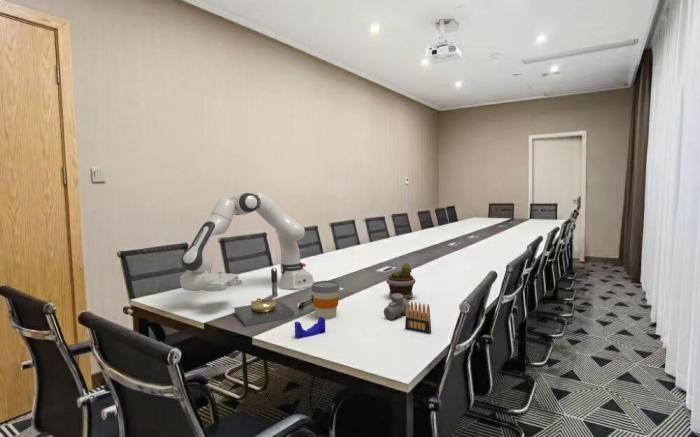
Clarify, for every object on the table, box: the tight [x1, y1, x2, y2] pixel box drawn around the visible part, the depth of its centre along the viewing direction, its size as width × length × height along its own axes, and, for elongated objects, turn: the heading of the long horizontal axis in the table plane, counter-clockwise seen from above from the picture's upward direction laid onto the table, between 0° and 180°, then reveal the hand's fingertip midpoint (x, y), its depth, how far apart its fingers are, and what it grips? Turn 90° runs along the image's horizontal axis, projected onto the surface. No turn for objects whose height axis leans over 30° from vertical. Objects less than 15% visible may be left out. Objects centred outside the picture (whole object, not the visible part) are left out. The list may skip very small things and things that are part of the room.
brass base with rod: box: [250, 267, 279, 312], centre depth 183 cm, size 17×11×17 cm, turn 160°
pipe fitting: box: [383, 293, 411, 320], centre depth 176 cm, size 12×8×10 cm
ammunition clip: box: [404, 300, 432, 335], centre depth 158 cm, size 11×2×12 cm, turn 56°
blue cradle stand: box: [294, 317, 326, 339], centre depth 157 cm, size 12×4×6 cm, turn 121°
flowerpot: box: [385, 262, 416, 301], centre depth 205 cm, size 14×15×20 cm
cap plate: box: [233, 300, 295, 327], centre depth 181 cm, size 22×20×3 cm
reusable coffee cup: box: [311, 280, 340, 320], centre depth 179 cm, size 13×12×15 cm
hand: (240, 282), depth 191 cm, fingers closed
